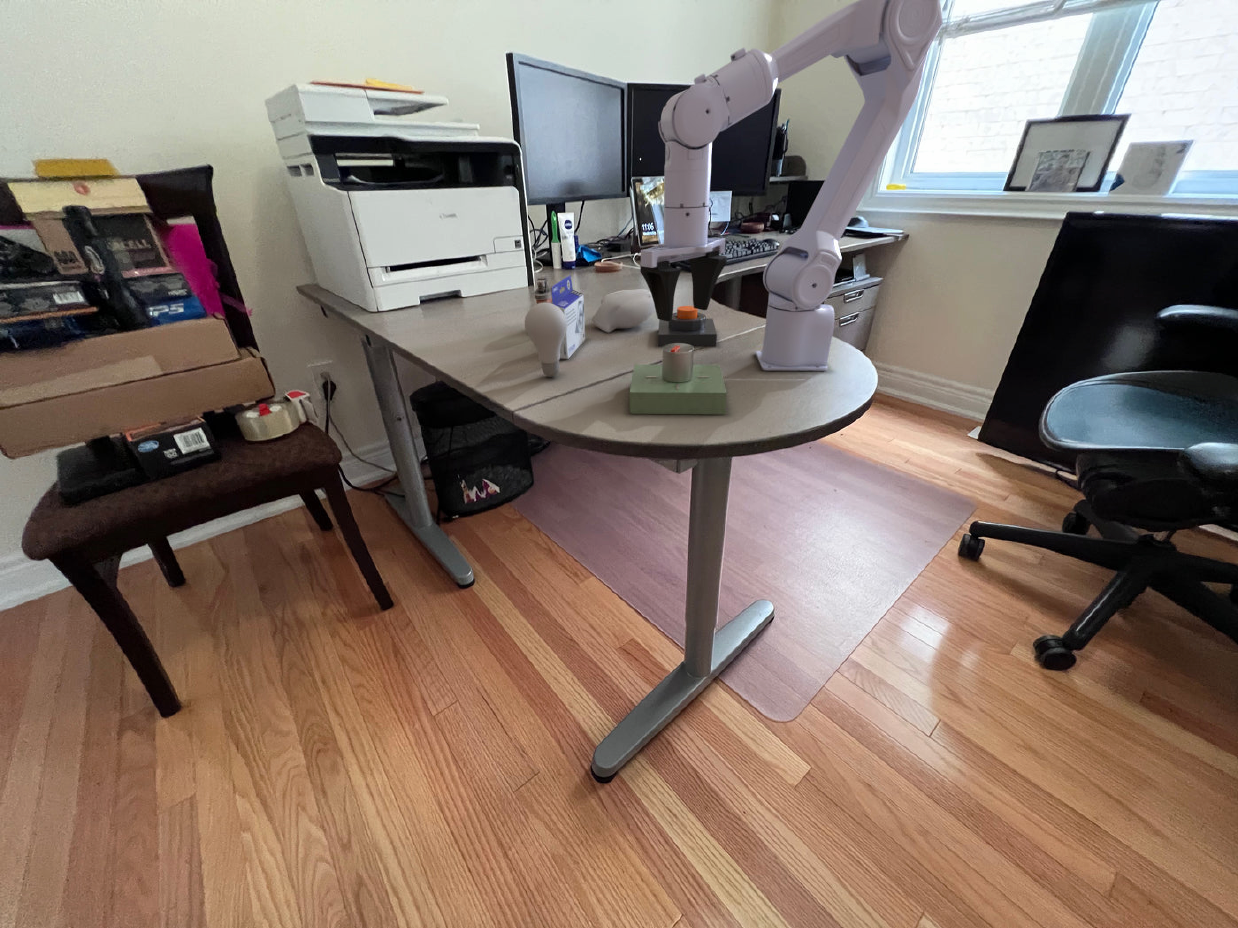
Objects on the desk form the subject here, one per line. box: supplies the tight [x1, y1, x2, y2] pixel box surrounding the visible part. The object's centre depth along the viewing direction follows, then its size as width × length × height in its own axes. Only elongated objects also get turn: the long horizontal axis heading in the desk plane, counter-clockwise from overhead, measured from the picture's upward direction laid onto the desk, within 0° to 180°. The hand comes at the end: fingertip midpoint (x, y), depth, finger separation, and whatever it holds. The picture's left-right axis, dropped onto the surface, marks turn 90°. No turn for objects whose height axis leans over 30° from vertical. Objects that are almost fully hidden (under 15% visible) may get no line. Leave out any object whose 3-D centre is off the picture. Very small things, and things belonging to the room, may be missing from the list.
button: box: [676, 305, 699, 319], centre depth 87 cm, size 4×4×2 cm
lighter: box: [533, 274, 552, 304], centre depth 94 cm, size 8×3×10 cm, turn 179°
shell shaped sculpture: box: [591, 288, 656, 333], centre depth 96 cm, size 13×13×6 cm
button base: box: [657, 311, 718, 348], centre depth 88 cm, size 10×10×4 cm
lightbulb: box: [524, 303, 567, 378], centre depth 72 cm, size 6×6×11 cm
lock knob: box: [661, 343, 695, 383], centre depth 64 cm, size 4×4×4 cm
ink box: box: [551, 274, 586, 360], centre depth 83 cm, size 12×2×12 cm, turn 168°
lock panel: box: [629, 364, 728, 416], centre depth 66 cm, size 12×10×3 cm
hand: (683, 314), depth 70 cm, fingers open, 7 cm apart
